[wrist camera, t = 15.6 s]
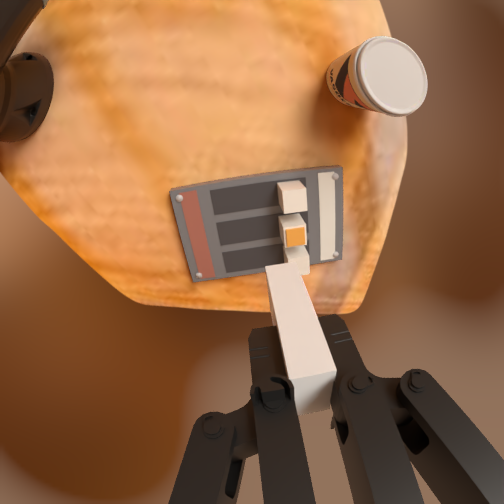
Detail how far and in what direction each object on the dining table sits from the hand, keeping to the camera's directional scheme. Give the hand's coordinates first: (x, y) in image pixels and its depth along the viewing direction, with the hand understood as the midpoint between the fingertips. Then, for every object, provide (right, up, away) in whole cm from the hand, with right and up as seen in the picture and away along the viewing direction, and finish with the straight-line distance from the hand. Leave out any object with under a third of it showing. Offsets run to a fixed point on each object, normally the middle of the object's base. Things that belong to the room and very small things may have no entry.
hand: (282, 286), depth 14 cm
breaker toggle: (+4, +6, +26) cm, 26 cm away
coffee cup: (+12, +26, +18) cm, 33 cm away
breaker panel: (0, +6, +27) cm, 28 cm away
